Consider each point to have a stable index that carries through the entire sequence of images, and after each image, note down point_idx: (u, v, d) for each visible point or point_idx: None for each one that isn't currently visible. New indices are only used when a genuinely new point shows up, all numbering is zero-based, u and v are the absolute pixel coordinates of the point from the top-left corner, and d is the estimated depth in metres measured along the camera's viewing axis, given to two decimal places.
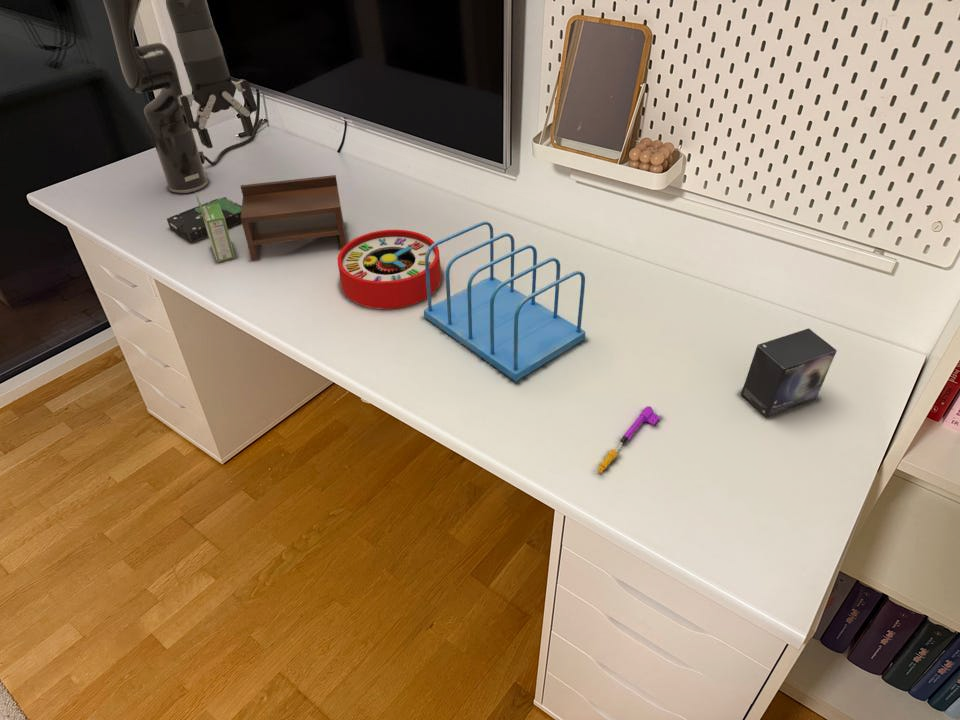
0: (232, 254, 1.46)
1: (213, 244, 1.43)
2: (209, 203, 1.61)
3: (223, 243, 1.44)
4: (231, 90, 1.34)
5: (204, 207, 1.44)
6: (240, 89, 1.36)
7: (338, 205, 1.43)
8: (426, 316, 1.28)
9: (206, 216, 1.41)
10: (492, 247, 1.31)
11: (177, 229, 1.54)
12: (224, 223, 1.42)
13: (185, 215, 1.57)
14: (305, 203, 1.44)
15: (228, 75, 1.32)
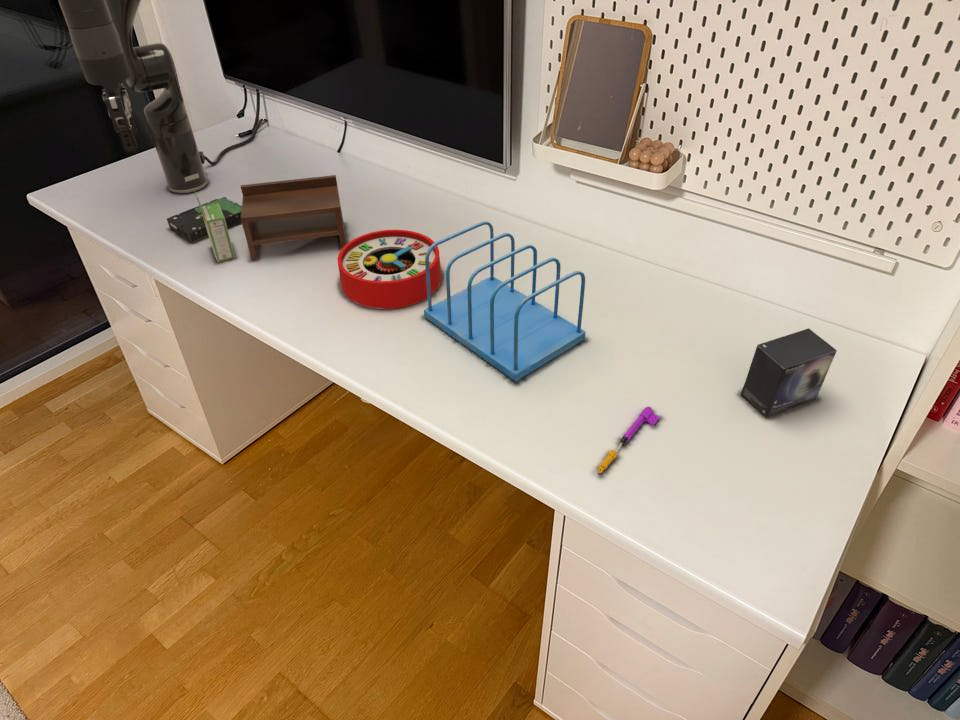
0: (232, 254, 1.46)
1: (213, 244, 1.43)
2: (209, 203, 1.61)
3: (223, 243, 1.44)
4: None
5: (204, 207, 1.44)
6: None
7: (338, 205, 1.43)
8: (426, 316, 1.28)
9: (206, 216, 1.41)
10: (492, 247, 1.31)
11: (177, 229, 1.54)
12: (224, 223, 1.42)
13: (185, 215, 1.57)
14: (305, 203, 1.44)
15: (93, 82, 1.20)
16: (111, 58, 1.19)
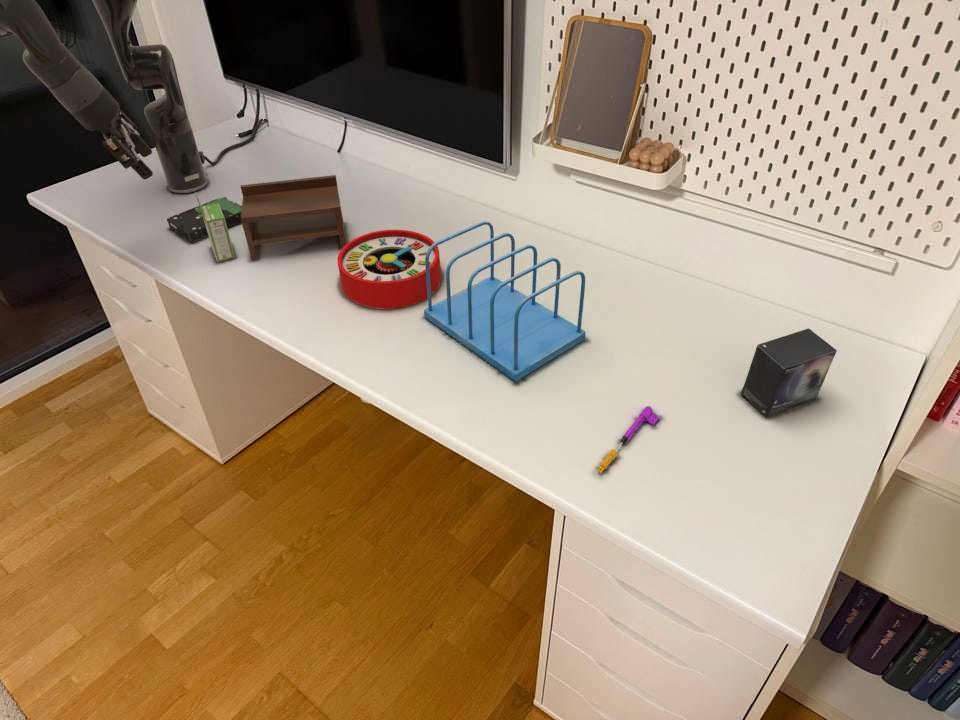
0: (232, 254, 1.46)
1: (213, 244, 1.43)
2: (209, 203, 1.61)
3: (223, 243, 1.44)
4: None
5: (204, 207, 1.44)
6: None
7: (338, 205, 1.43)
8: (426, 316, 1.28)
9: (206, 216, 1.41)
10: (492, 247, 1.31)
11: (177, 229, 1.54)
12: (224, 223, 1.42)
13: (185, 215, 1.57)
14: (305, 203, 1.44)
15: (89, 128, 1.25)
16: (93, 102, 1.22)
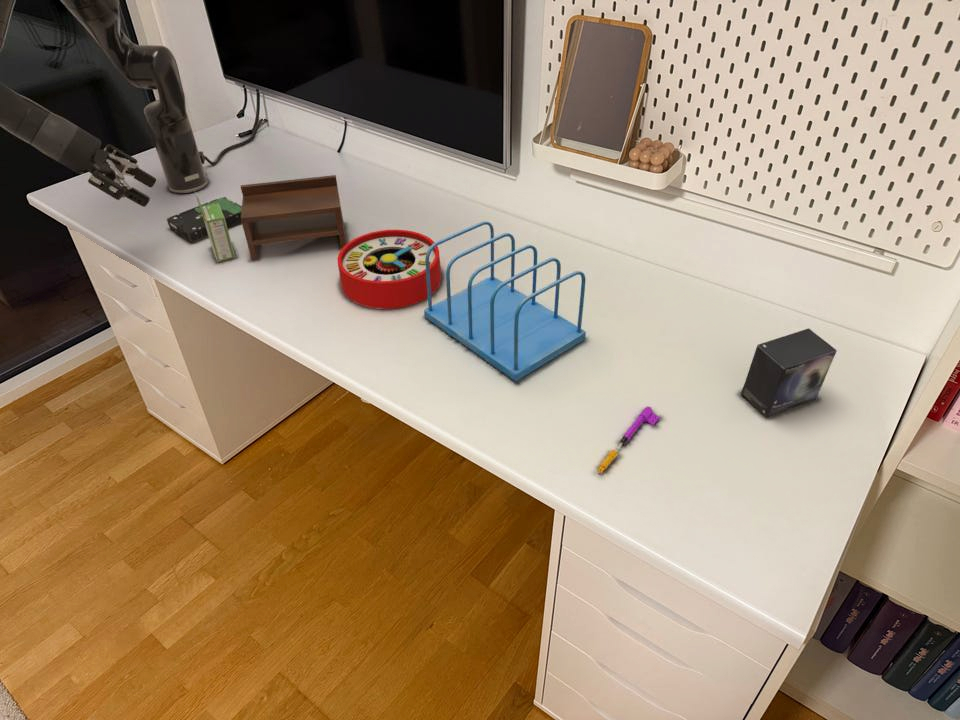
0: (232, 254, 1.46)
1: (213, 244, 1.43)
2: (209, 203, 1.61)
3: (223, 243, 1.44)
4: None
5: (204, 207, 1.44)
6: None
7: (338, 205, 1.43)
8: (426, 316, 1.28)
9: (206, 216, 1.41)
10: (492, 247, 1.31)
11: (177, 229, 1.54)
12: (224, 223, 1.42)
13: (185, 215, 1.57)
14: (305, 203, 1.44)
15: (79, 172, 1.29)
16: (69, 144, 1.26)
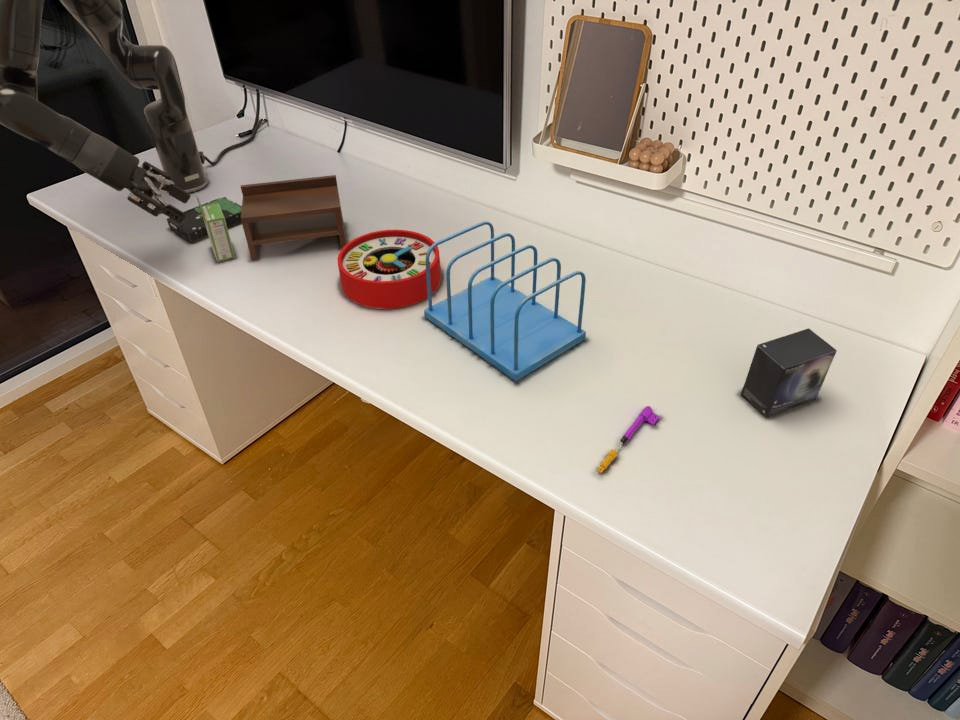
0: (232, 254, 1.46)
1: (213, 244, 1.43)
2: (209, 203, 1.61)
3: (223, 243, 1.44)
4: None
5: (204, 207, 1.44)
6: None
7: (338, 205, 1.43)
8: (427, 316, 1.28)
9: (206, 216, 1.41)
10: (493, 247, 1.31)
11: (177, 229, 1.54)
12: (224, 223, 1.42)
13: None
14: (305, 203, 1.44)
15: (118, 189, 1.33)
16: (109, 163, 1.29)
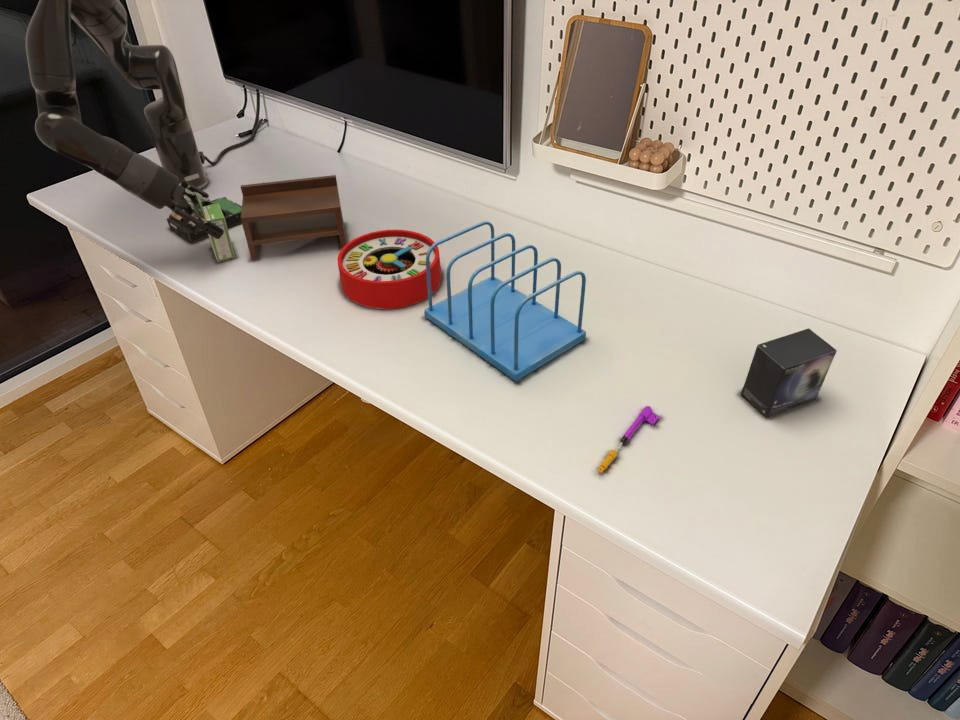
0: (232, 254, 1.46)
1: (213, 244, 1.43)
2: None
3: (223, 243, 1.44)
4: None
5: (204, 207, 1.44)
6: None
7: (338, 205, 1.43)
8: (427, 316, 1.28)
9: (206, 216, 1.41)
10: (493, 247, 1.31)
11: (177, 229, 1.54)
12: (224, 223, 1.42)
13: None
14: (305, 203, 1.44)
15: (158, 207, 1.37)
16: (151, 182, 1.33)
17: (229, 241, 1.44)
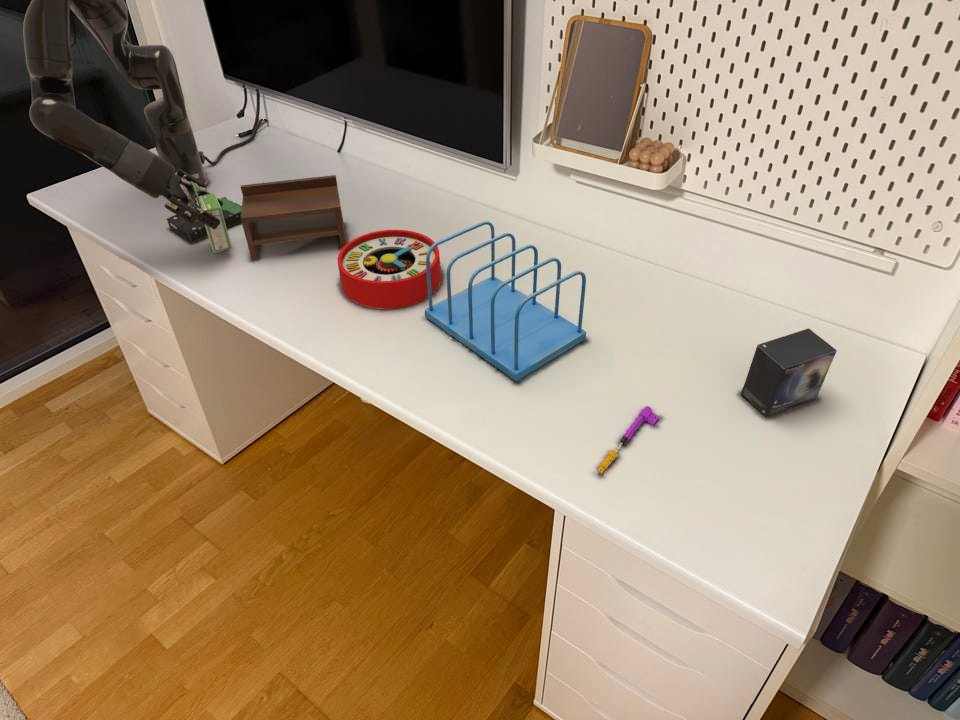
0: (229, 245, 1.45)
1: (209, 234, 1.42)
2: None
3: (219, 233, 1.43)
4: None
5: (200, 197, 1.43)
6: None
7: (338, 205, 1.43)
8: (427, 316, 1.28)
9: (202, 206, 1.40)
10: (493, 247, 1.31)
11: (177, 229, 1.54)
12: (221, 213, 1.40)
13: None
14: (305, 203, 1.44)
15: (154, 196, 1.35)
16: (147, 171, 1.32)
17: (225, 231, 1.43)
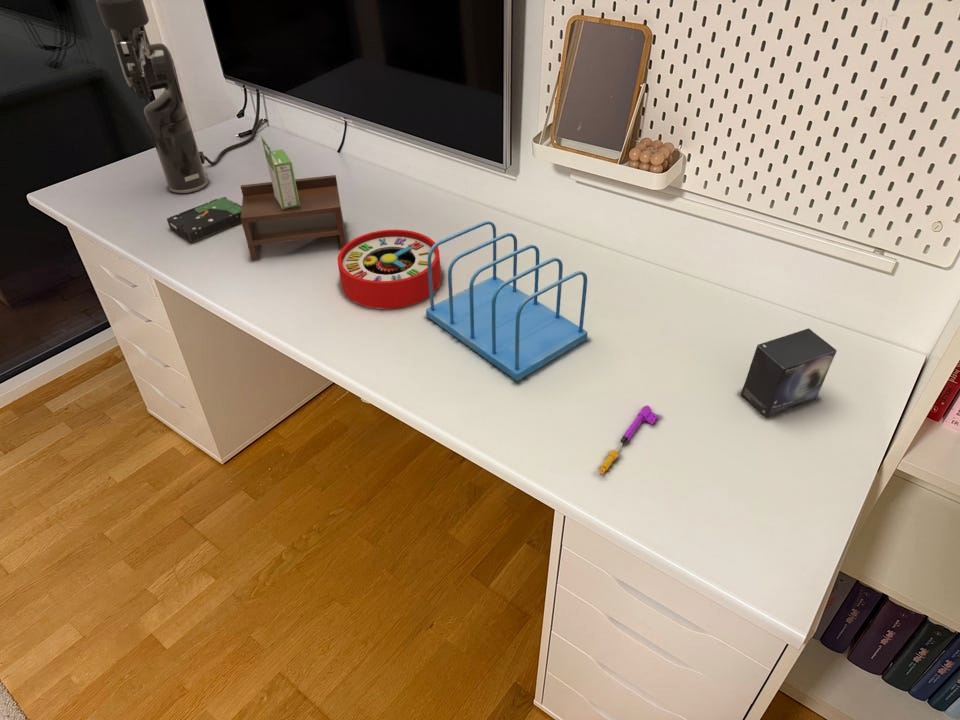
0: (297, 201, 1.42)
1: (279, 190, 1.39)
2: (209, 203, 1.61)
3: (289, 189, 1.40)
4: None
5: None
6: None
7: (338, 205, 1.43)
8: (428, 315, 1.29)
9: (273, 160, 1.37)
10: (495, 247, 1.31)
11: (177, 229, 1.54)
12: (291, 168, 1.38)
13: (185, 215, 1.57)
14: (305, 203, 1.44)
15: (108, 26, 1.21)
16: (126, 3, 1.19)
17: (295, 187, 1.41)
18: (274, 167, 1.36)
